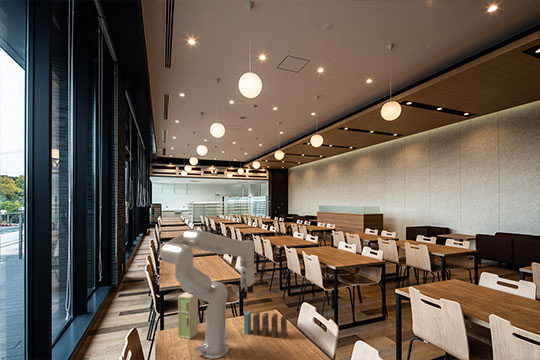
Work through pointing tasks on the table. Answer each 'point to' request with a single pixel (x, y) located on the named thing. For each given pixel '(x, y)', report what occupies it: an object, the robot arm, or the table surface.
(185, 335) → the toy refrigerator
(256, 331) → the domino
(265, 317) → the domino
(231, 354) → the table surface
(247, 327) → the domino
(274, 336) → the domino
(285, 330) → the domino
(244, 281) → the robot arm
